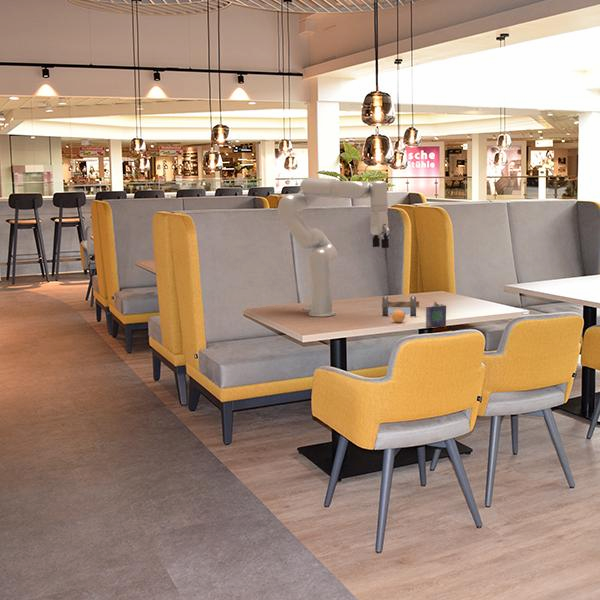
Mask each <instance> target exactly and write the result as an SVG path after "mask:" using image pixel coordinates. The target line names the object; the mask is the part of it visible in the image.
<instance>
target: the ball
mask: <svg viewBox="0 0 600 600" xmlns="http://www.w3.org/2000/svg"><path fill="white" fill-rule="evenodd" d="M405 317H406V314H404V312H403V311H401V310H395V311H394V312H393V314H391V318H392V321H393V322H395V323H398V322H399V323H402V322H403V321H404V320H405Z"/></svg>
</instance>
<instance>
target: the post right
mask: <svg viewBox="0 0 600 600" xmlns="http://www.w3.org/2000/svg"><path fill="white" fill-rule="evenodd" d="M409 298H410V300H409V301H410V307H409V309H410V314H409V315H410V316H409V317H411V316H416V317H417V307H416V301H417V296H410V297H409Z"/></svg>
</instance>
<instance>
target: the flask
mask: <svg viewBox="0 0 600 600" xmlns="http://www.w3.org/2000/svg"><path fill="white" fill-rule="evenodd" d="M446 324H447V305H446V304H442V303H438V302H437V301H436V300H435V301H433V305H428V306H426V307H425V327H426V328H438V327H440V328H442V327H446Z"/></svg>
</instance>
